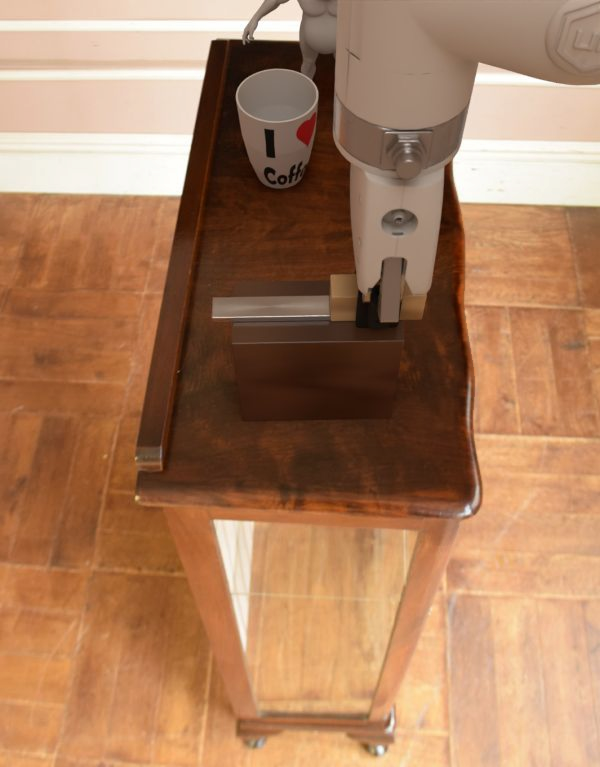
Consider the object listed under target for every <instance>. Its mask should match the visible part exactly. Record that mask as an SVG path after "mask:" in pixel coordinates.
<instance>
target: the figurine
mask: <svg viewBox="0 0 600 767" xmlns="http://www.w3.org/2000/svg"><path fill="white" fill-rule="evenodd" d="M289 1H290V0H263V2H262V4H261V5H260V6H259V8H258V9H257V11H256V12H255V13H254V14H253V16H252V17H251V18H250V20H249V21H248V23H247V25H245V27H244V29H243V34H242V35H241V38H242V45H243V46H245V45H246V43H248V44H250V43H251V41H254V40H255V37H254V33H255V31H256V30H257V29H258V26H259V22H260V21H261V20H262V19H263V18H265V17H266V16H267V15H269V14H270V13H272V12H273V11H275V10H277V9H278V8H279V7H280V5H284V4H286V3H288V2H289ZM296 1H297V4H298V5H299V7H300V9H301V11H302V14H301V21H300V25H299V29H298V35H299V36H298V41H299V48H300V51H301V54H302V63H301V66H300V73H301V74H303V75H305V76H307V77H308V78H310V79H311V80H312V81H313V79H314V76H315V74H316V70H317V66H316V61H317V58H318V56H319V54H322V55H330V54H332V56H333V58H334V60H335V61H336V33H337V5H338V0H296Z"/></svg>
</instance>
